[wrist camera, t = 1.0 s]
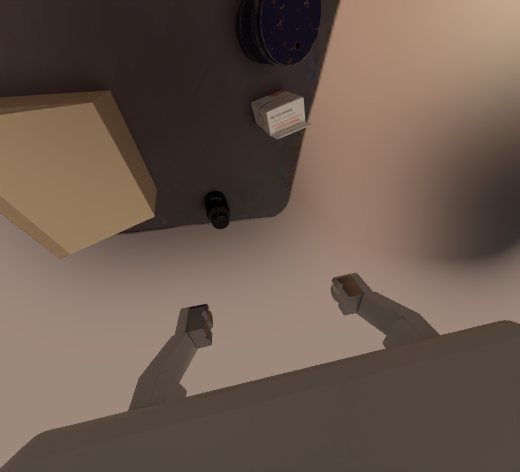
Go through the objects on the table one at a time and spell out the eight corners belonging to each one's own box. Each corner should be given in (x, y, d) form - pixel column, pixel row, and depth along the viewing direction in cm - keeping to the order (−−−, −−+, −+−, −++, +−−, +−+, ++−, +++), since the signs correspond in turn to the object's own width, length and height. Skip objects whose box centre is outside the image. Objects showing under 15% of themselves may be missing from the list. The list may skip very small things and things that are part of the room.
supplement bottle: (215, 186, 57) (222, 208, 49) (229, 199, 62) (238, 222, 54) (199, 199, 58) (203, 223, 50) (214, 212, 63) (220, 235, 55)
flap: (-107, 128, 19) (-110, 129, 19) (91, 101, 28) (92, 102, 27) (59, 257, 35) (60, 259, 35) (153, 215, 44) (154, 216, 43)
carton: (-6, 97, 32) (-65, 112, 24) (109, 90, 36) (91, 101, 28) (83, 202, 48) (65, 232, 40) (156, 189, 52) (153, 214, 44)
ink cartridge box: (281, 87, 45) (312, 98, 35) (285, 110, 48) (313, 125, 38) (249, 101, 44) (271, 116, 35) (255, 123, 48) (276, 142, 38)
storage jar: (225, 10, 34) (247, -6, 24) (270, -28, 32) (313, -63, 22) (251, 73, 41) (276, 81, 31) (289, 44, 40) (327, 42, 30)
